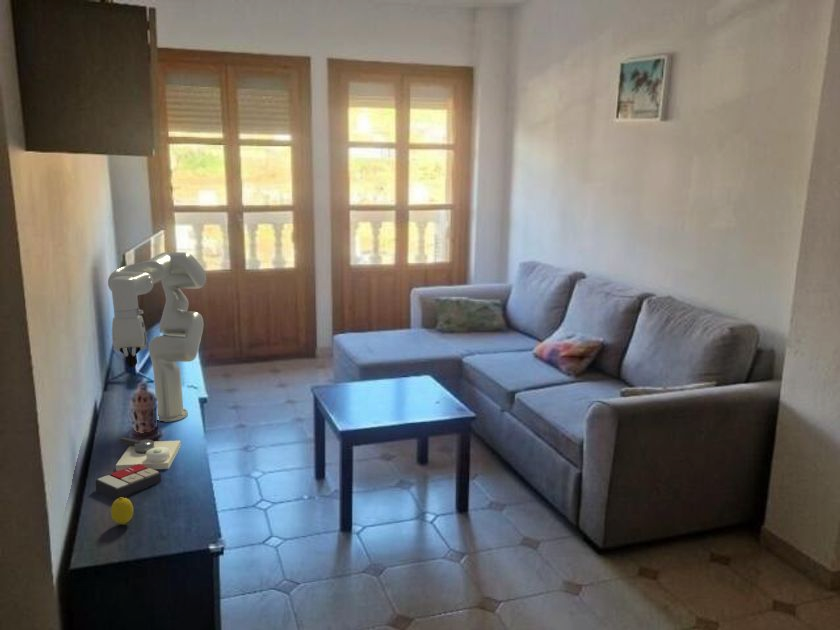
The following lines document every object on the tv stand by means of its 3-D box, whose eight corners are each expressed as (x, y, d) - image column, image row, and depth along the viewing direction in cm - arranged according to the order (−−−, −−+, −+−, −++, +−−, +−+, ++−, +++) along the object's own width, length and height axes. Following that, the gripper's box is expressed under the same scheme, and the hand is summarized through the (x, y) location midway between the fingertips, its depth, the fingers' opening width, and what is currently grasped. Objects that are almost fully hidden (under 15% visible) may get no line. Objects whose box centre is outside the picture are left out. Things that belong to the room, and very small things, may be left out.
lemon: (108, 529, 185) (105, 502, 183) (118, 518, 190) (115, 492, 188) (128, 530, 184) (126, 502, 182) (138, 519, 190) (135, 492, 188)
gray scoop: (115, 448, 231) (114, 441, 230) (129, 441, 236) (128, 434, 236) (144, 454, 226) (144, 447, 225) (158, 448, 231) (157, 441, 230)
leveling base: (132, 447, 236) (131, 435, 235) (180, 445, 238) (180, 433, 237) (116, 471, 219) (114, 457, 218) (168, 468, 220) (167, 455, 219)
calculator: (161, 470, 212) (116, 487, 199) (161, 484, 212) (117, 501, 200) (139, 462, 218) (94, 477, 205) (139, 474, 218) (95, 491, 206)
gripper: (152, 310, 234) (157, 361, 238) (106, 311, 231) (112, 363, 236) (147, 315, 226) (152, 369, 231) (99, 317, 224) (105, 371, 229)
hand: (132, 366), depth 234 cm, fingers closed
